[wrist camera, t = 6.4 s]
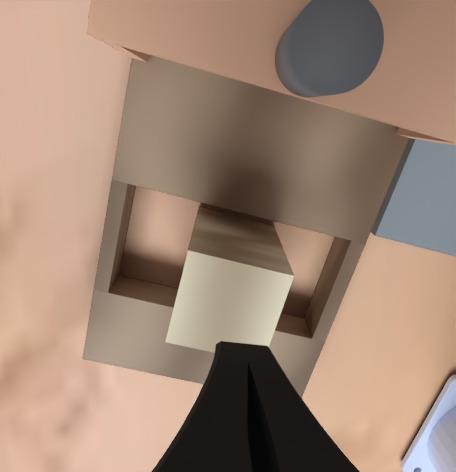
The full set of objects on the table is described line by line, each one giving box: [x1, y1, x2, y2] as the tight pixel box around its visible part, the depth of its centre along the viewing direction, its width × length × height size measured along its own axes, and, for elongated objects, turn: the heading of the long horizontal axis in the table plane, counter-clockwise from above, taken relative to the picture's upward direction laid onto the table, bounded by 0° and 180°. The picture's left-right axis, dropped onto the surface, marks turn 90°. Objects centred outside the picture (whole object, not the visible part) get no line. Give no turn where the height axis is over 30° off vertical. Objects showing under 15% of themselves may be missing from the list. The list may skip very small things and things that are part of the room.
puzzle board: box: [83, 55, 409, 398], centre depth 17 cm, size 12×22×2 cm, turn 165°
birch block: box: [165, 207, 294, 353], centre depth 17 cm, size 4×4×6 cm
